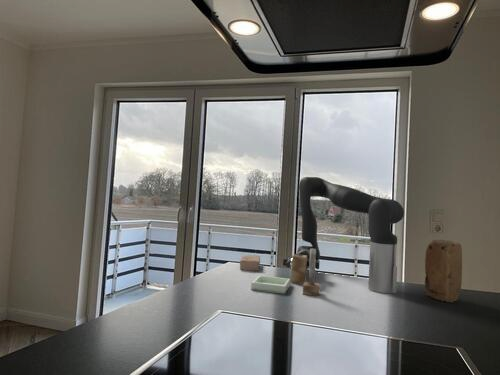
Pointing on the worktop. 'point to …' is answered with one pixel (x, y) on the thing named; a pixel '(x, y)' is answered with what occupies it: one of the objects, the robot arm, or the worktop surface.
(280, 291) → the tray
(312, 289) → the stand
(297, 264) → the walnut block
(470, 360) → the worktop surface
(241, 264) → the brick
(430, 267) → the block
